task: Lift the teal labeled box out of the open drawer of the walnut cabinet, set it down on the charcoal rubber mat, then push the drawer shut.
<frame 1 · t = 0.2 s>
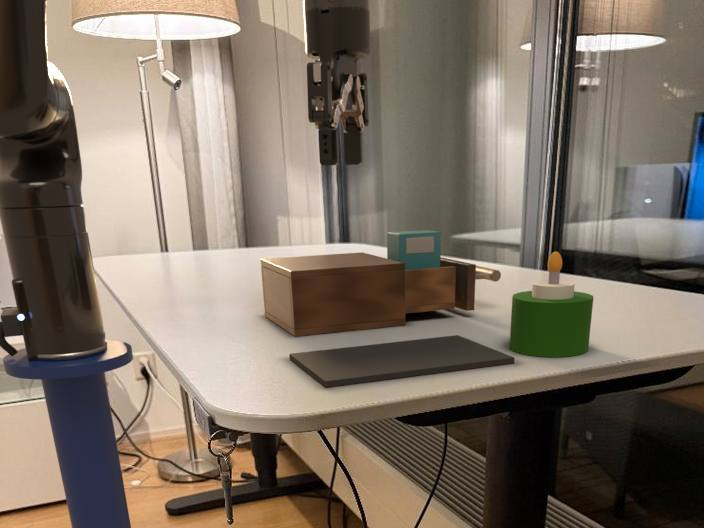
hand: (342, 165, 89), 19 cm above the table, tool pointing down, fingers open, 8 cm apart
mat: (399, 361, 74), on the table
teal labeled box: (413, 297, 98), point 2 cm above the table, touching drawer
candle: (548, 349, 78), on the table
cabinet: (332, 320, 95), on the table
drawer: (425, 283, 98), point 4 cm above the table, slide at 9.0 cm, touching teal labeled box
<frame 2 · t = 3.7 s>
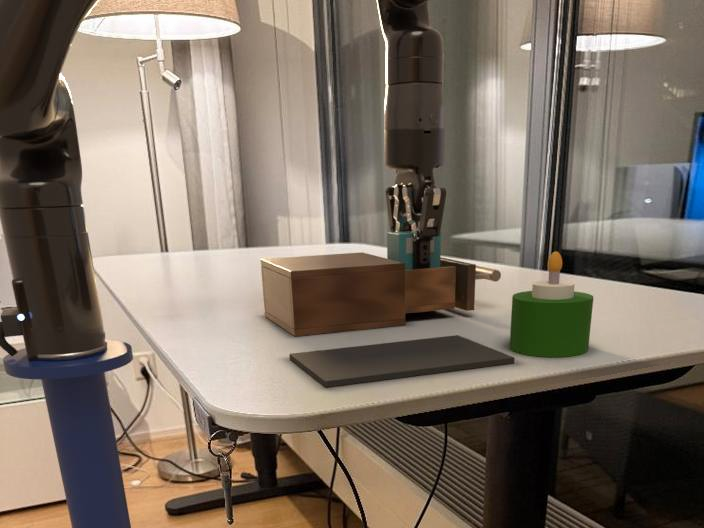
hand: (413, 268, 97), 6 cm above the table, tool pointing down, fingers closed on teal labeled box, 4 cm apart
teal labeled box: (413, 297, 98), point 2 cm above the table, touching drawer, gripper
everything else where it was.
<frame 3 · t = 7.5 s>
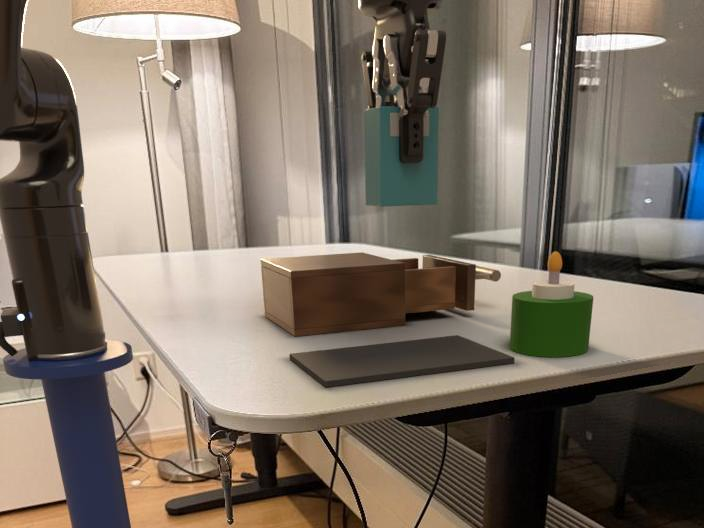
hand: (400, 162, 70), 19 cm above the table, tool pointing down, fingers closed on teal labeled box, 4 cm apart
teal labeled box: (401, 204, 72), point 15 cm above the table, touching gripper
drawer: (425, 283, 98), point 4 cm above the table, slide at 9.0 cm
everything else where it was.
when the fingers open (4 cm above the table, at t = 11.2 s): teal labeled box stays where it is, resting on mat.
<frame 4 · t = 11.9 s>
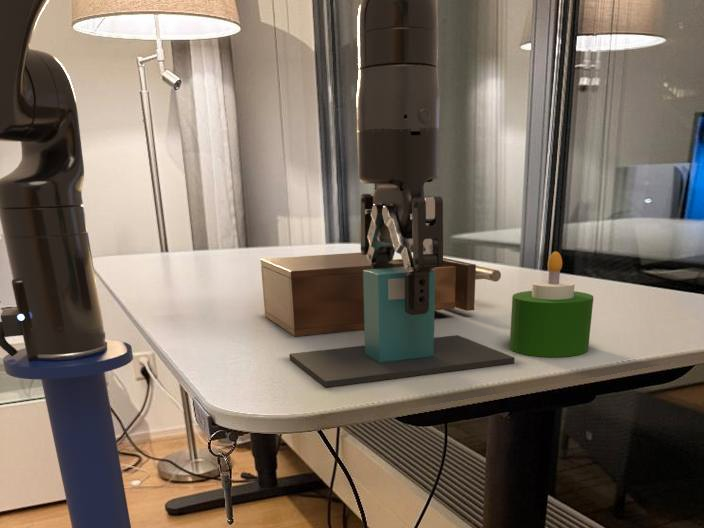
hand: (398, 306, 72), 6 cm above the table, tool pointing down, fingers open, 8 cm apart
teal labeled box: (399, 355, 74), point 1 cm above the table, touching mat
everything else where it was.
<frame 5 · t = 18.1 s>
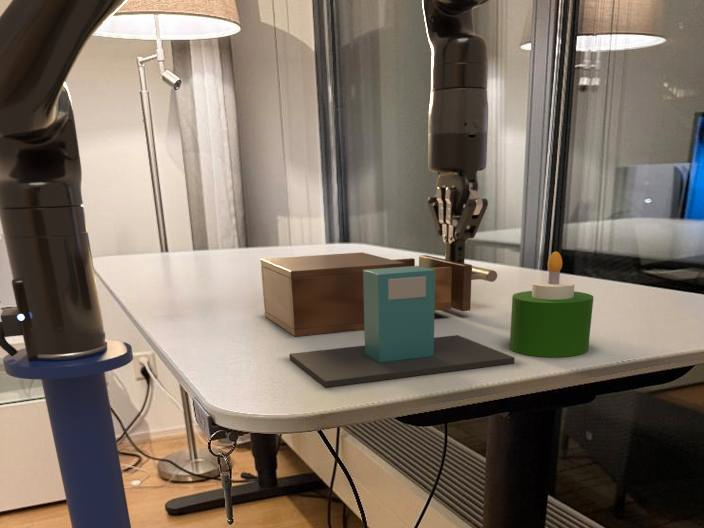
hand: (454, 270, 99), 5 cm above the table, tool pointing down, fingers closed
drawer: (421, 283, 98), point 4 cm above the table, slide at 8.4 cm
everything else where it was.
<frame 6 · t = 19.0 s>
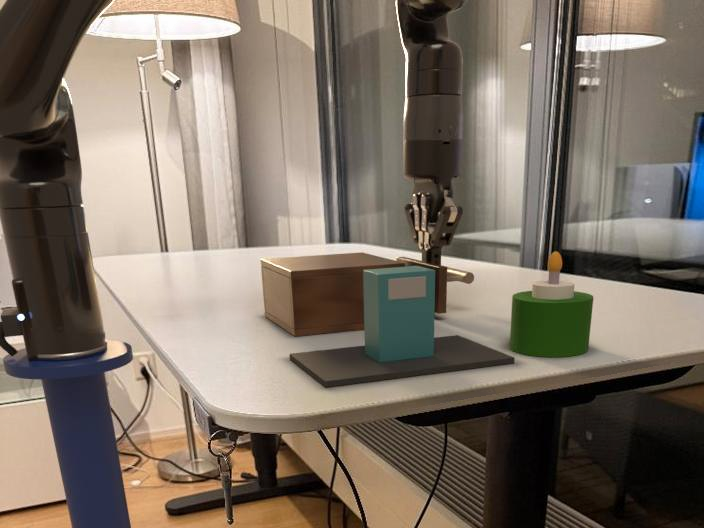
hand: (431, 278, 98), 4 cm above the table, tool pointing down, fingers closed
drawer: (398, 285, 97), point 4 cm above the table, slide at 4.9 cm, touching gripper
everything else where it was.
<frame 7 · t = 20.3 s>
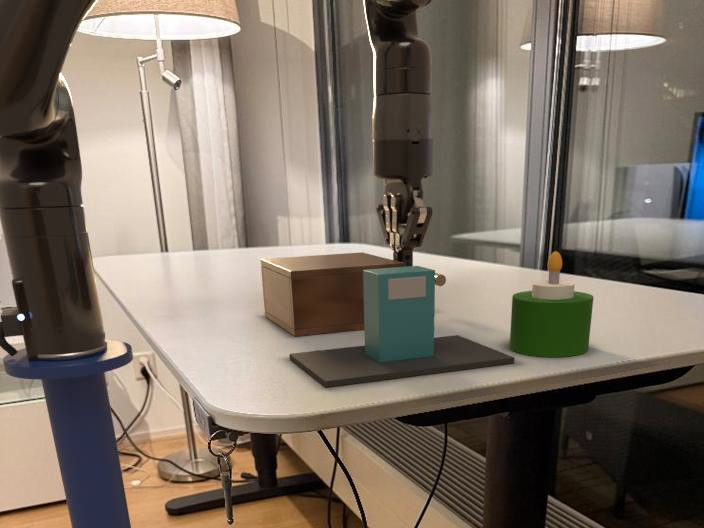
hand: (403, 280, 97), 4 cm above the table, tool pointing down, fingers closed
drawer: (368, 288, 95), point 4 cm above the table, slide at 0.7 cm, touching gripper
everything else where it was.
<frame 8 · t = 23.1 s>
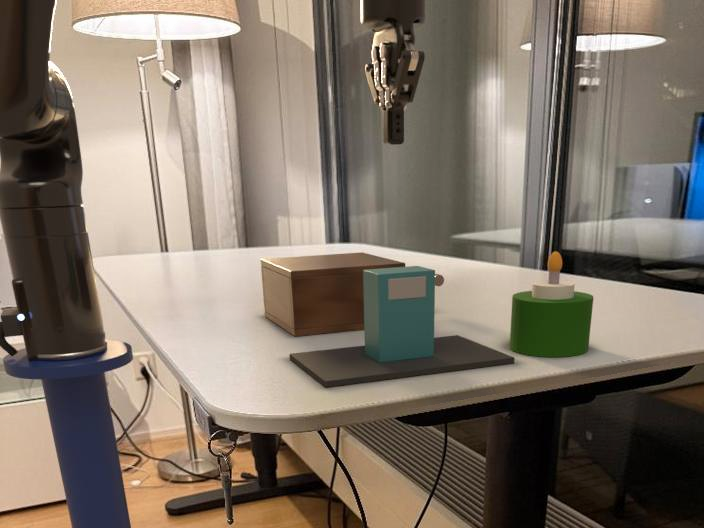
hand: (393, 144, 90), 21 cm above the table, tool pointing down, fingers closed
drawer: (366, 288, 95), point 4 cm above the table, slide at 0.4 cm
everything else where it was.
at the end: teal labeled box inside the target area on the mat (0.0 cm from its centre), point 0.6 cm above the mat's base; teal labeled box tilted 0°; drawer slide at 0.4 cm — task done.
